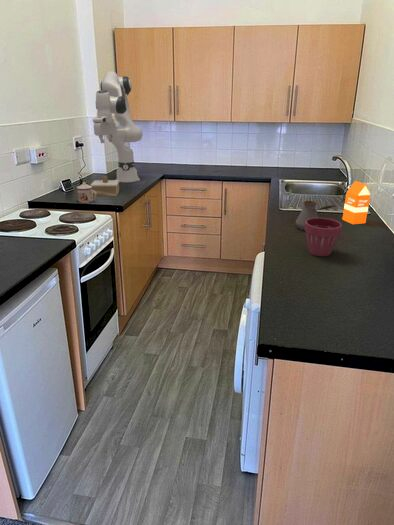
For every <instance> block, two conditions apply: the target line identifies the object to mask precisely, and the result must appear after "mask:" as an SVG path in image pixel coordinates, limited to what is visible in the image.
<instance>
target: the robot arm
mask: <svg viewBox="0 0 394 525" xmlns="http://www.w3.org/2000/svg"><path fill="white" fill-rule="evenodd" d="M132 85H133V84H132V81H131V79H130V78H129V76H123V75H122V76H118V74H117V72H115V71H112V70H110V71H107V72H106V73H105V74H104V75H103V77H102V80H101V83H100V90H97V91H96V93H95V108H96V110H97V111H96V116H95V117H93V118H92V123H93V133H94V135H95V137H98V138H99V140H100V144H105V139H104V136H106V139H107V140H108V142H109V143H111V144H113V145H114V147H115V149H116V152H117V157H118V158H117V159H118V162H117V166H118V168H117V169H116V178H115V179H114V180H119V183H134V182H140V181H141V179H140V177H139V176H138V170H137V169H136V167H135V165H136V164H135V161H134V158H135V157H134V150H133V149H132V148H130V147H129V146H126V145H125V143H135V142H140V141H141V140H142V138H143V131H142V129H141V127H139V126H138V125H136V124H135V123H134V121H133V119H132V118H131V116H132V115H131V113H130V104H129V99H128V97H127V96H129V95H130V93H131V91H132V87H133V86H132ZM113 115H114V119H115V120H114V119H113ZM115 121H116V122H118V123H119V124H121V126H116V125H117V124H116V122H115ZM122 125H123V126H122Z"/></svg>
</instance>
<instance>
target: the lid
mask: <svg viewBox="0 0 394 525" xmlns="http://www.w3.org/2000/svg"><path fill="white" fill-rule="evenodd" d="M101 178H102V179H101V180H100V179H99V180H98V179H97V180H95V179H94V180H93V181H92V183H90V186H117V185H118V183H119V184H120V182H119V180H115V179H109V178H108V175H102V176H101ZM108 179H109V180H108Z"/></svg>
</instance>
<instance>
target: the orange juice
mask: <svg viewBox="0 0 394 525" xmlns="http://www.w3.org/2000/svg"><path fill="white" fill-rule="evenodd" d="M370 200H371V192H370V191H369V188H368V186H367V183H362V182H360V181H357V180H354V182H353V183H352V184H351V186H350V187H349V188H348V189H347V191H346V194H345V200H344V206H343V214H342V217H341V218H342V220H343V221H344V222H346V223H349V224H351V225H359V224H366V222H367V218H368V217H367V216H368V212H369V204H370Z"/></svg>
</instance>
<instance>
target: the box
mask: <svg viewBox="0 0 394 525" xmlns="http://www.w3.org/2000/svg"><path fill="white" fill-rule="evenodd" d="M92 190H93V191H95V192H96V197H117V196H118V195H119V193H120V182H119V183H118V185H117V186H92ZM92 193H93V197H94V196H95V194H94V192H92Z"/></svg>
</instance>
